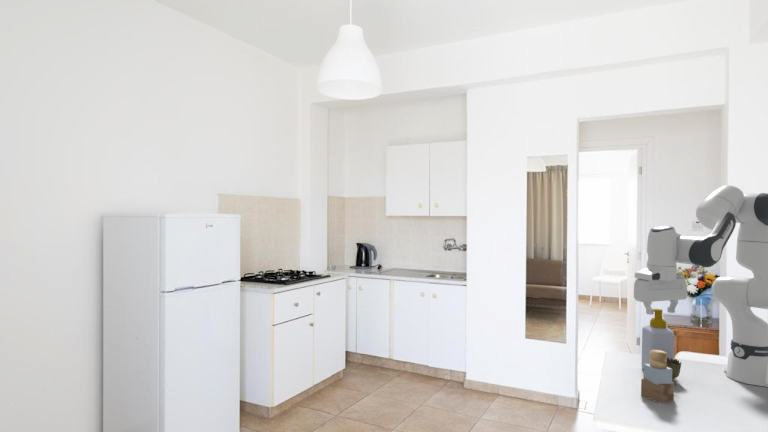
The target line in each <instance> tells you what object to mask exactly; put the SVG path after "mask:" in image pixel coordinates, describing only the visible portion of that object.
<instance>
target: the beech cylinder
mask: <svg viewBox="0 0 768 432" xmlns="http://www.w3.org/2000/svg"><path fill="white" fill-rule="evenodd" d="M650 366H651V367H654V368H658V369H666V368H667V353H666V352H664V351H660V350H650Z"/></svg>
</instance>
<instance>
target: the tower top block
mask: <svg viewBox="0 0 768 432" xmlns="http://www.w3.org/2000/svg"><path fill="white" fill-rule="evenodd" d="M643 378H644V379H646V380H648V381H650V382H652V383H654V384H656V385H659V384H672V369H671V368H669V367H667V368H666V369H658V368H654V367H651V366H650V364H644V369H643Z"/></svg>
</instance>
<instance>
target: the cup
mask: <svg viewBox="0 0 768 432" xmlns="http://www.w3.org/2000/svg"><path fill="white" fill-rule="evenodd" d="M667 367H669V368H671V369H672V382H674V383H675V381H676V379H677V378H678V377H679V376H680V373H681V368H682V361H679V359H677V358H674V360H673V359H672V358H671V360H670V359H669V358H667Z"/></svg>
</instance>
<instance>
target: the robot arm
mask: <svg viewBox="0 0 768 432" xmlns="http://www.w3.org/2000/svg"><path fill="white" fill-rule="evenodd" d="M695 216H696V218H697V220H698V222H699V223H700V224H701V225H702V226H703V227H704V228H707V229H709V230H711V232H709V234H708V235H704V236H691V235H682V234H680V233H677V231H676V227H674V226H670V225H669V226H668V225H662V226H661V225H659V226H654V227H652V228H650V230H649V232H648V237H647V242H646V244H647V245H646V253H647V257H648V258H647V261H646V266H645V267H643V268H642V269H639V270H637V271H635V272H634V278H635V281H634V284H633V298H634V300H635V301H637V302H639V303H643V306H644V308H645V312H646V315H651V316H653V315H655V312H654V309H655V308H652V306H651V305H652V304H653V302H665V301H666V302H667V301H669V302H670V304H669V306H667V312H668V313H670V314H675V313H676V308H677V306H678V304H679V300H681V301H682V300H686V299H687V298H688V286H687V281H686V276H685V275H684V274H683V273H682V272H678V271H677V263H678V264H684V265H685V264H686V265H693V266H698V267H702V268H703V267H704V268H712V267H713V266H714V265H716V264H717V263H718V262H719V261H720V260H721V258H722V254H723V251H724V248H725V246H726V245H727V244H728V242H729V239H730V238H731V236H732V234H733V232H734V230H735V228H736V224H737V223H738V224H739V227H738V232H737V237H736V249H735V250H736V253H735V259H736V262H737V263H738V265H740V266H741V267H743V268H745V269H747V270H748V271H751V273H752V274H753V278H749V277H741V276H731V275H730V276H719V277H717V278H716V279H715V280H713V282H712V284H711V294H712V296H713V297H714V298H715V299H716V301H718V302H719V303H720V304H722V306H723V307H724V308H725V310H727V313H728V314H729V318H730V319H731V326H732V329H731V330H732V339H731V342H730V349H731V351H729V352H728V357H727V364H726V368H724V370H723V372H724V373H726V376H727V377H728V378H729V379H731V380H734V381H736V382H739V383H743V384H748V385H753V386H759V387H767V388H768V322H766V321H765V319H763V318H761V317H760V316H758V315H756V314H755V313H754V312H753V310H752V309H751V308H755V309H756V308H757V309H761V310H762V309H764V310H768V193H767V192H761V193H753V192H752V193H744V192H743V191H742V189H740V188H738V187H737V186H734V185H729V184H728V185H723V186H720V187H718V188H716V189H715V190H714V191H711V192H710V194H708V195H707V196H706V197H705V198H704V199H703V200H702V201H700V203H699V204H698V205H697V208H696V209H695Z"/></svg>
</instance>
